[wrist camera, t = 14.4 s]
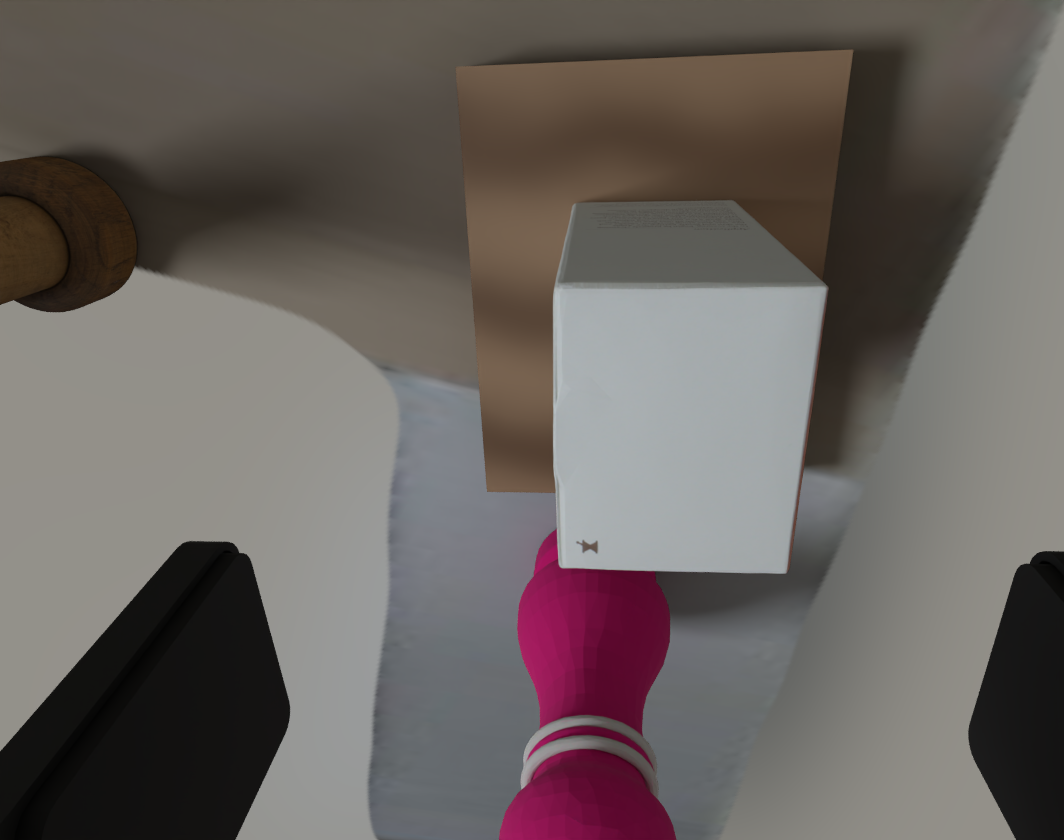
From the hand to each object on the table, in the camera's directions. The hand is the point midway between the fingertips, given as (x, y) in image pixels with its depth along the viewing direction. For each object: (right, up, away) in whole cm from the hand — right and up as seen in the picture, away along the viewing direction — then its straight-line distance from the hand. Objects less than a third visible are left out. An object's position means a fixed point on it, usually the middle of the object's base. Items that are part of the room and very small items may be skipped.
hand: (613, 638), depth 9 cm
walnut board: (+4, +9, +23) cm, 25 cm away
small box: (+4, +8, +21) cm, 22 cm away
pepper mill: (+2, -5, +30) cm, 30 cm away
